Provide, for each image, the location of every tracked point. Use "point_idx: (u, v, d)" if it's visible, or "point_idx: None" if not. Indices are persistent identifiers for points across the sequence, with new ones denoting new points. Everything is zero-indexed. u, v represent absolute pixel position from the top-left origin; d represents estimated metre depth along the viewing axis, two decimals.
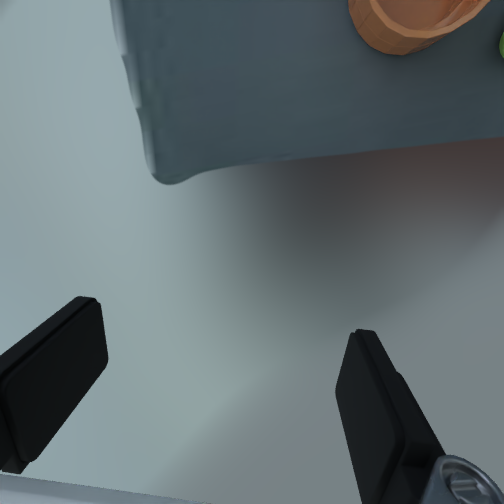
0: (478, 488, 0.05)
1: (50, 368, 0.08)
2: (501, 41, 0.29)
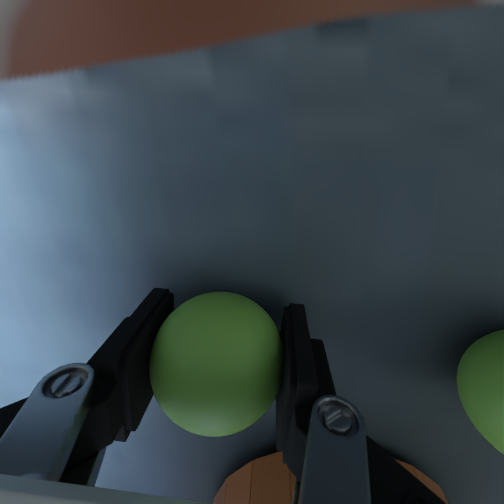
0: (343, 413, 0.07)
1: (147, 349, 0.09)
2: None
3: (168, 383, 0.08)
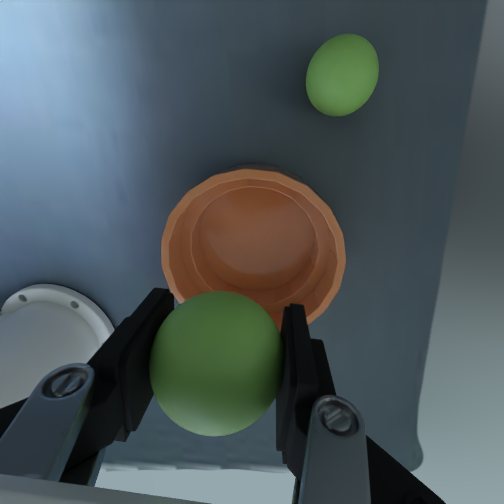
0: (343, 413, 0.07)
1: (147, 349, 0.09)
2: None
3: (168, 382, 0.08)
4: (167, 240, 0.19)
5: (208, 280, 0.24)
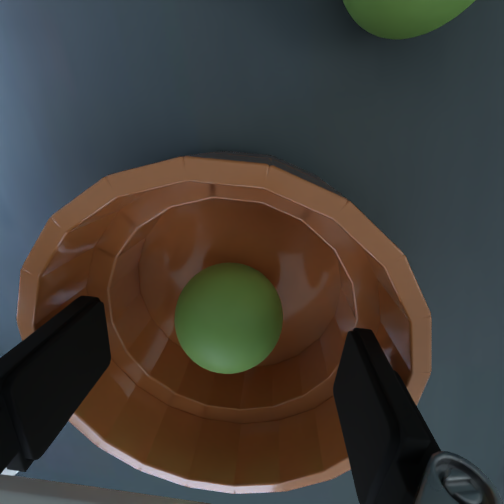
0: (472, 483, 0.05)
1: (54, 367, 0.08)
2: (409, 37, 0.09)
3: (192, 327, 0.10)
4: (30, 320, 0.09)
5: (153, 363, 0.14)
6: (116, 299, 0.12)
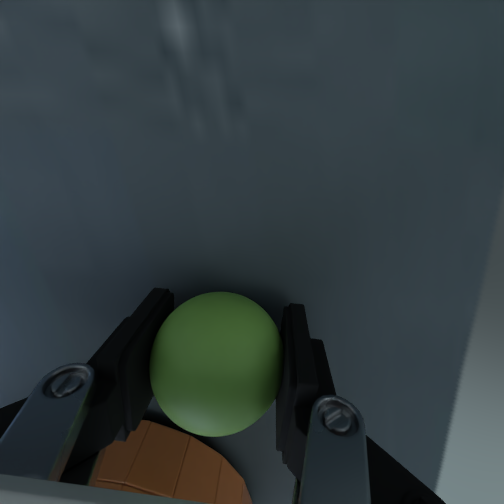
0: (342, 414, 0.07)
1: (147, 349, 0.09)
2: None
3: None
4: None
5: None
6: None
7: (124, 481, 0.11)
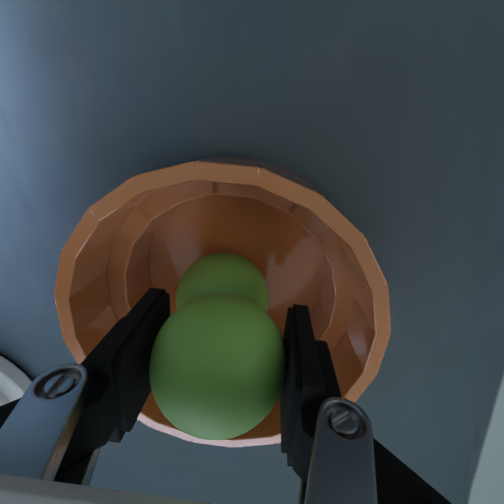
0: (350, 416, 0.06)
1: (142, 349, 0.09)
2: None
3: None
4: (65, 294, 0.11)
5: None
6: (131, 282, 0.14)
7: (262, 162, 0.11)
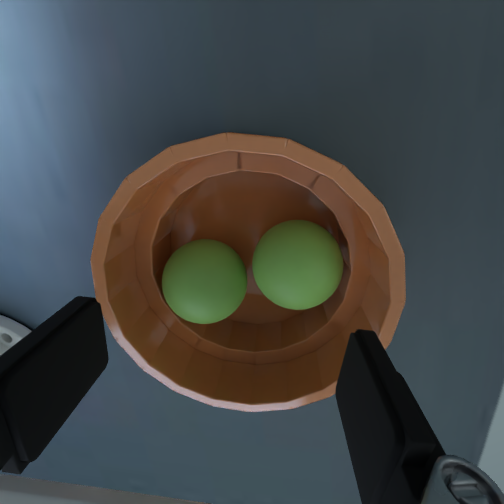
0: (478, 488, 0.05)
1: (50, 368, 0.08)
2: None
3: None
4: (101, 260, 0.12)
5: None
6: (156, 256, 0.15)
7: None
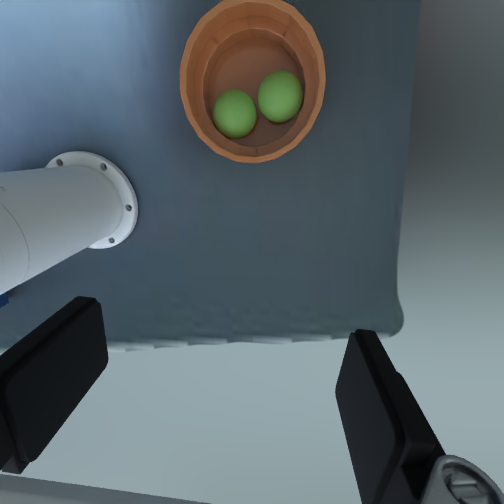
0: (478, 488, 0.05)
1: (50, 368, 0.08)
2: None
3: (213, 112, 0.28)
4: (185, 66, 0.25)
5: (216, 127, 0.29)
6: (204, 87, 0.28)
7: None
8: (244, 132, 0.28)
